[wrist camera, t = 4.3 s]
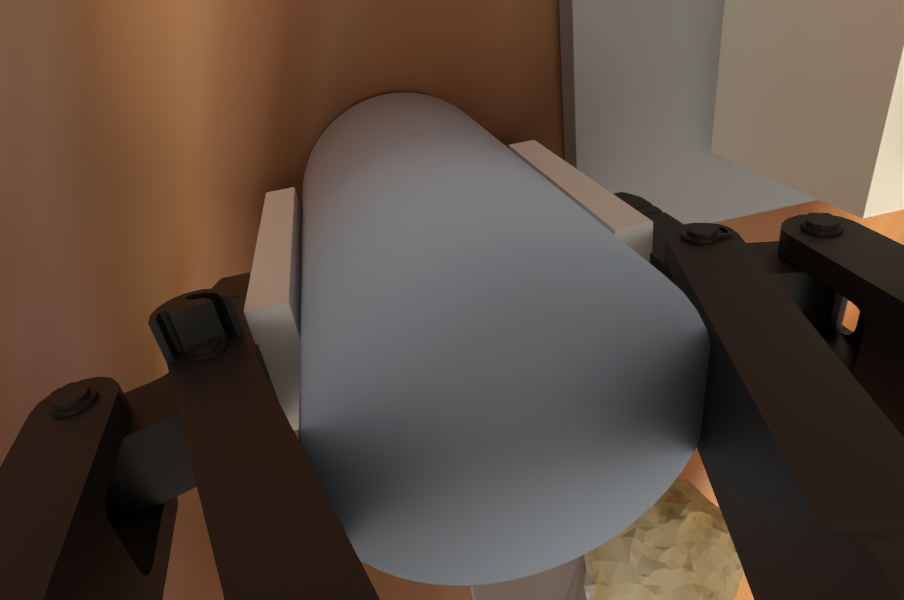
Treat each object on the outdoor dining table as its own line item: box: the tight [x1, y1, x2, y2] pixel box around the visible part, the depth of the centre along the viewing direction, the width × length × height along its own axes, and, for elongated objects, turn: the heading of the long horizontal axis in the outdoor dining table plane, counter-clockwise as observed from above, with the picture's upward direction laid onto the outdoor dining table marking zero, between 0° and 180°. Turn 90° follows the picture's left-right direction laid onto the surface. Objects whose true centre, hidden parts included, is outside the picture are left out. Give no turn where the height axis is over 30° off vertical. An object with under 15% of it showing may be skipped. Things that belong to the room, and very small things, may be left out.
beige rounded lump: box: [470, 477, 743, 600], centre depth 22 cm, size 10×10×10 cm
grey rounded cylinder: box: [299, 92, 710, 586], centre depth 13 cm, size 6×6×11 cm
